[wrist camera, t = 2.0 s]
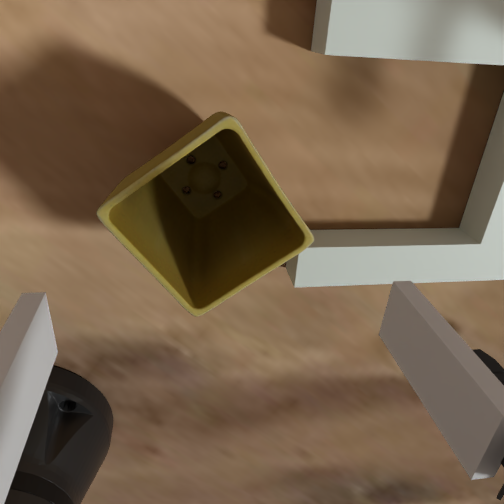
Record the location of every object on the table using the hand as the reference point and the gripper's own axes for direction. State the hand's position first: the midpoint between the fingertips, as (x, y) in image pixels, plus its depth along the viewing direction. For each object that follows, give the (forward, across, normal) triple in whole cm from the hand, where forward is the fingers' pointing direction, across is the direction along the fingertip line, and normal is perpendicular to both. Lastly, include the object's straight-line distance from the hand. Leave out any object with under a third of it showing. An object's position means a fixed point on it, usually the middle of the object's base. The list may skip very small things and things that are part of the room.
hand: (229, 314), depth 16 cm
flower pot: (+17, 0, 0) cm, 17 cm away
